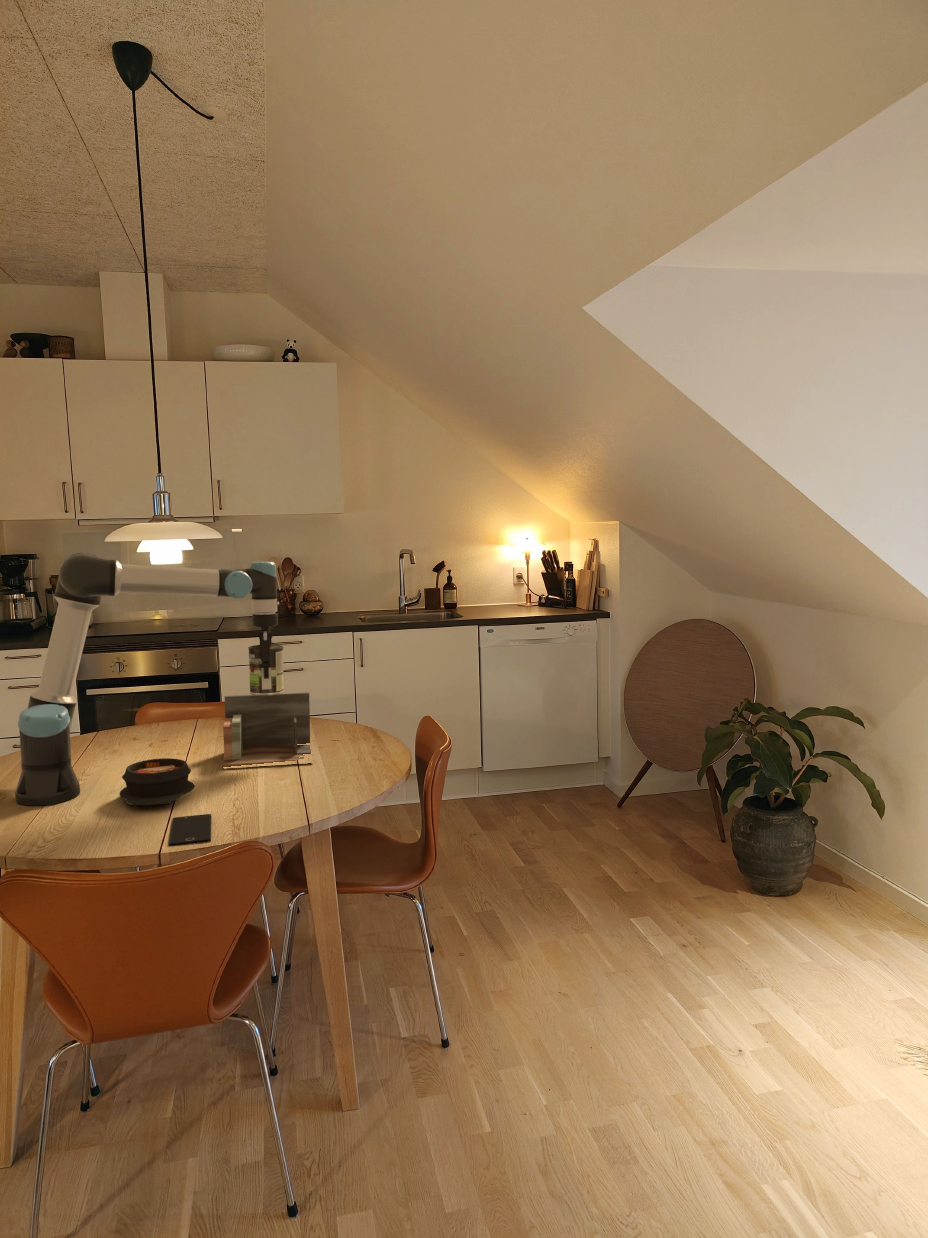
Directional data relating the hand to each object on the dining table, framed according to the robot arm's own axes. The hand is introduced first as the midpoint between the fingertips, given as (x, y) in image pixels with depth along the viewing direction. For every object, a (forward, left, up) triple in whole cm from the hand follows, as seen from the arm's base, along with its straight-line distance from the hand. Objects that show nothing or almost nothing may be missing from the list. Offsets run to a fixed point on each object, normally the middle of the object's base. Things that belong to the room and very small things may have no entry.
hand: (266, 685), depth 251 cm
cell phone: (-59, +17, -23) cm, 66 cm away
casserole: (-31, +28, -23) cm, 48 cm away
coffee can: (0, 0, -2) cm, 2 cm away
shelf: (+1, 0, -23) cm, 23 cm away
